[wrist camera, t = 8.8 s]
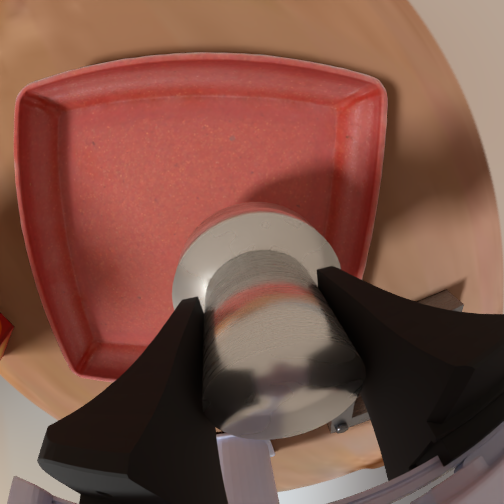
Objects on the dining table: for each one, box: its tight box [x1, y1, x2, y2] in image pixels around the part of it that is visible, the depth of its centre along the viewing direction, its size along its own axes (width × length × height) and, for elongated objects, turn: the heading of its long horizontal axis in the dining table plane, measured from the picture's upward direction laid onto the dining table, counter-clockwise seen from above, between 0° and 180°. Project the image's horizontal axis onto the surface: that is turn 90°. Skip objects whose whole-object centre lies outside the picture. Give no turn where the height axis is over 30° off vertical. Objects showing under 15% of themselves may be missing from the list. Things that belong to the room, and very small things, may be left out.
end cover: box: [172, 202, 366, 440], centre depth 10 cm, size 7×7×7 cm
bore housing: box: [327, 290, 464, 433], centre depth 20 cm, size 12×12×3 cm
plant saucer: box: [14, 52, 388, 382], centre depth 13 cm, size 18×18×3 cm
